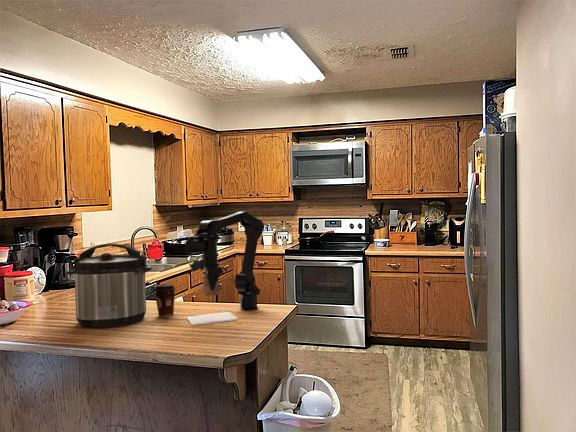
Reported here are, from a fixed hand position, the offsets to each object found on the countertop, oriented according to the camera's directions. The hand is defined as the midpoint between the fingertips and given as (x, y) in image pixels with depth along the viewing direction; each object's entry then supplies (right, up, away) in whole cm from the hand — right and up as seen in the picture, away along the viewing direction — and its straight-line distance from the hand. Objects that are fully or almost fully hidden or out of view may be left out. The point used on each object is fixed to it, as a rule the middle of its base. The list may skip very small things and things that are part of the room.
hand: (211, 289), depth 194 cm
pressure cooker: (-41, -13, +3) cm, 43 cm away
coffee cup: (-21, -12, +8) cm, 26 cm away
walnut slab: (0, -2, 0) cm, 2 cm away
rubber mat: (0, -12, -2) cm, 12 cm away
